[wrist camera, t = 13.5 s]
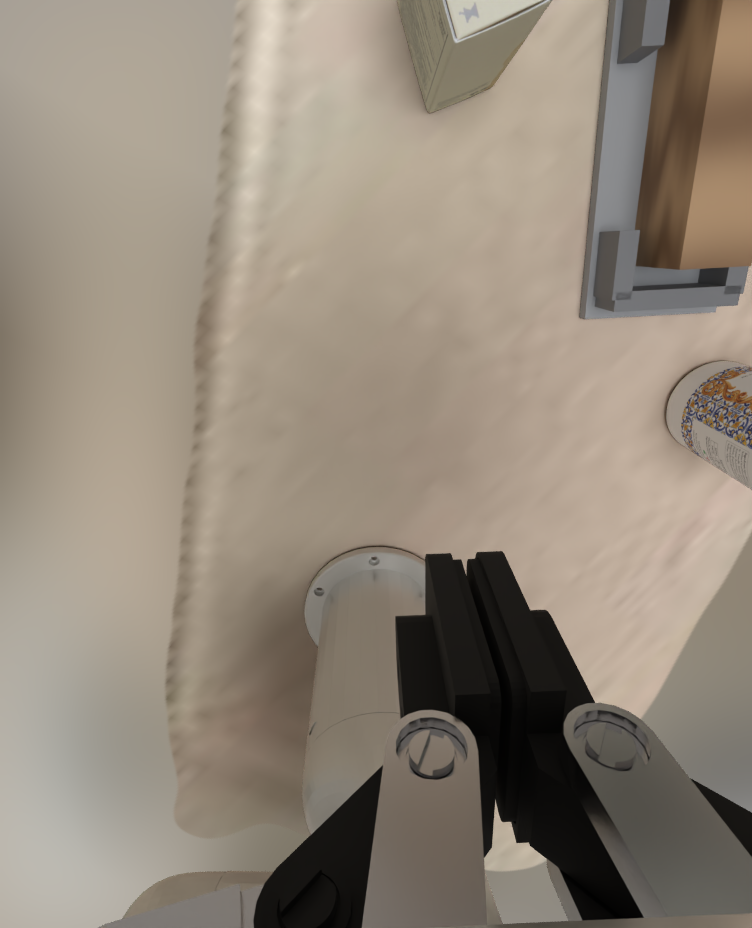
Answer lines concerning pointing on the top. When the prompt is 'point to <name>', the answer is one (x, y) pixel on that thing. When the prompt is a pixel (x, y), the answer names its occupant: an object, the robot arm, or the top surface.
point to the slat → (699, 141)
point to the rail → (635, 186)
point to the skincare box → (464, 43)
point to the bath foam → (716, 416)
